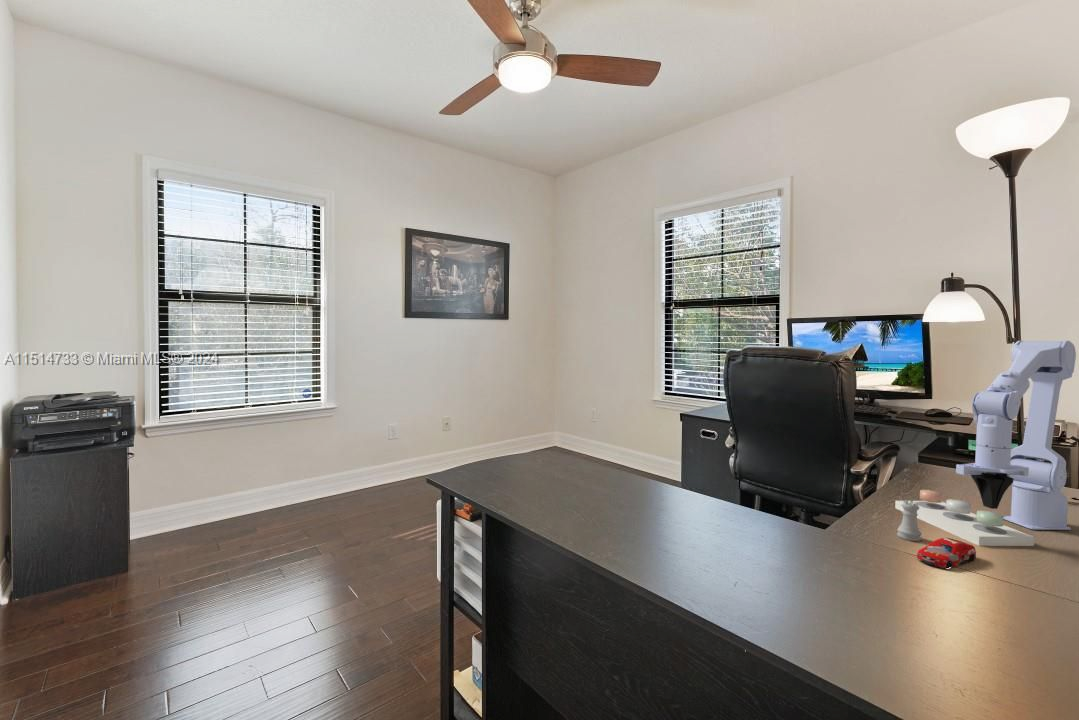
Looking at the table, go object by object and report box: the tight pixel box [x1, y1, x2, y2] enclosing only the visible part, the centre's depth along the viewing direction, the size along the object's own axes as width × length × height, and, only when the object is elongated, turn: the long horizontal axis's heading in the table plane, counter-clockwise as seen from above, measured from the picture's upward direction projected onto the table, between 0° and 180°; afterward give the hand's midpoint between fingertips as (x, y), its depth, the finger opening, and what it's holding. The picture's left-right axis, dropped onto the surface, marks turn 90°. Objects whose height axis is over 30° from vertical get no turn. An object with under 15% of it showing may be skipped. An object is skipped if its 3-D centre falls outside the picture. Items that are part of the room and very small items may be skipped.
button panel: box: [894, 500, 1035, 547], centre depth 117 cm, size 12×24×2 cm, turn 1°
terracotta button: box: [919, 489, 943, 503], centre depth 125 cm, size 4×4×2 cm
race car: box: [916, 537, 977, 569], centre depth 98 cm, size 13×5×4 cm, turn 113°
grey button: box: [945, 498, 972, 514], centre depth 117 cm, size 4×4×2 cm
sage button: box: [976, 510, 1005, 527], centre depth 109 cm, size 4×4×2 cm
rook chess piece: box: [896, 499, 923, 543], centre depth 109 cm, size 4×4×8 cm
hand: (990, 507), depth 109 cm, fingers closed
